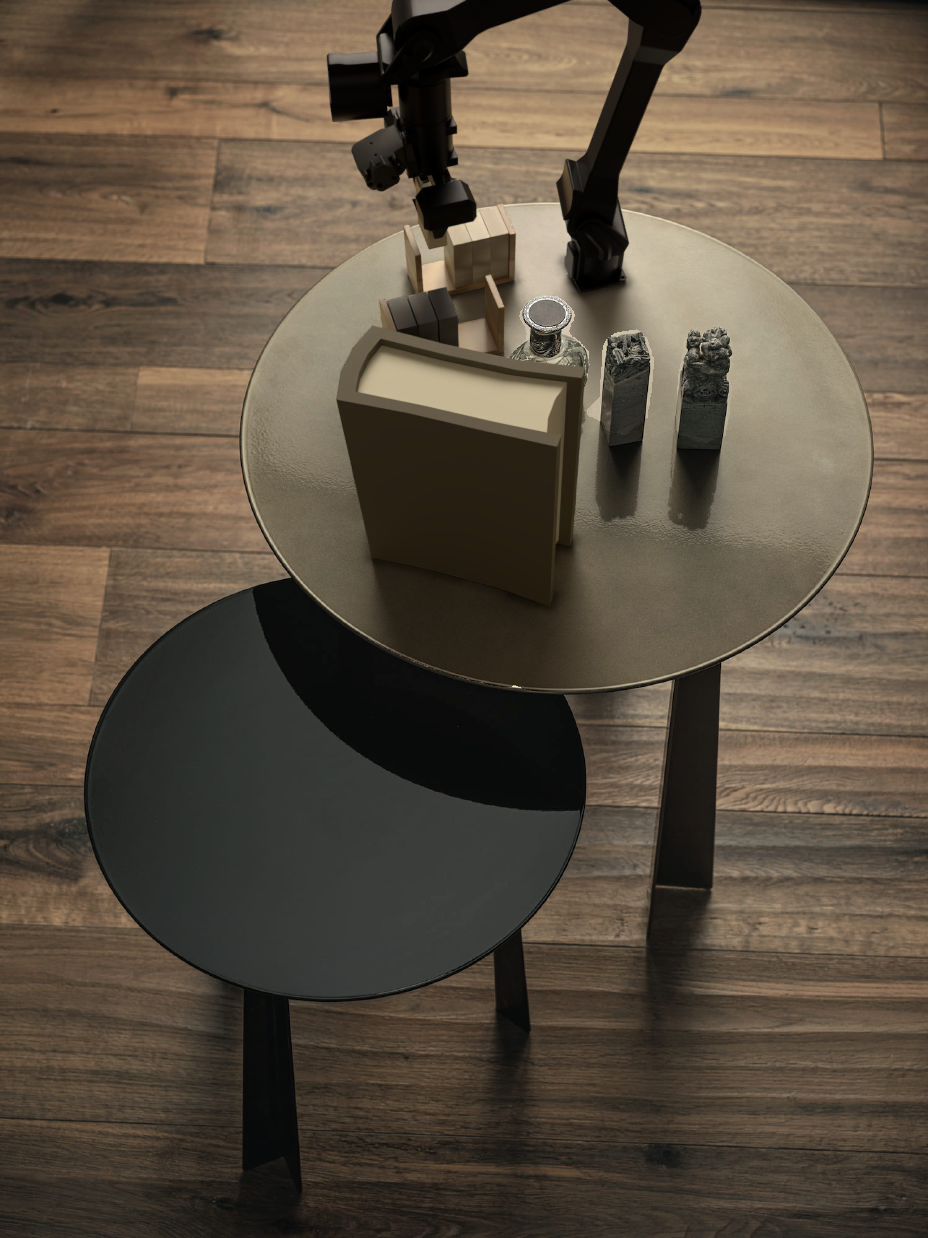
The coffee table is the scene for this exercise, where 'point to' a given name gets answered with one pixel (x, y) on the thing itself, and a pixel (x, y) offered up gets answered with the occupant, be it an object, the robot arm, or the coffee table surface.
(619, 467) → the coffee table surface
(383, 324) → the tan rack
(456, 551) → the book
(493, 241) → the brown rack
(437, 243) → the cream book
